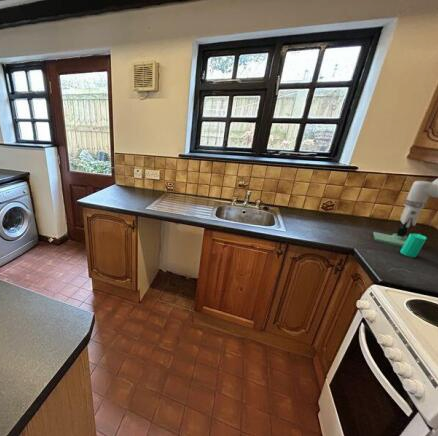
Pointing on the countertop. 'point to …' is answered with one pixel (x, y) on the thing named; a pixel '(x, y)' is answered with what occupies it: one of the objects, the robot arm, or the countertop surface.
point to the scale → (390, 239)
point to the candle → (413, 245)
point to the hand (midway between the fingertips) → (400, 234)
